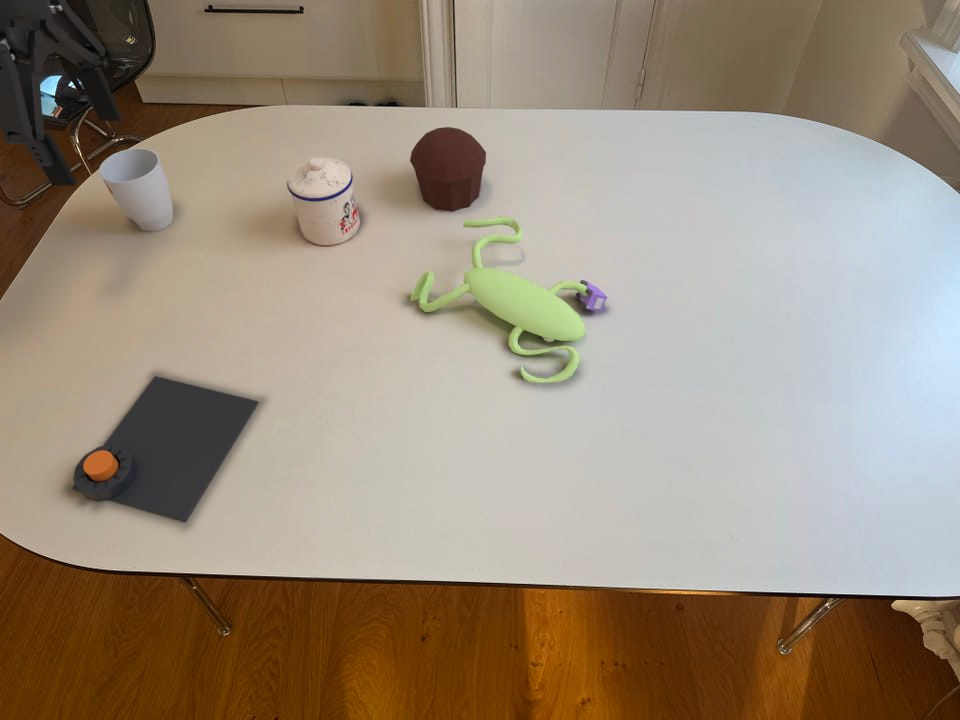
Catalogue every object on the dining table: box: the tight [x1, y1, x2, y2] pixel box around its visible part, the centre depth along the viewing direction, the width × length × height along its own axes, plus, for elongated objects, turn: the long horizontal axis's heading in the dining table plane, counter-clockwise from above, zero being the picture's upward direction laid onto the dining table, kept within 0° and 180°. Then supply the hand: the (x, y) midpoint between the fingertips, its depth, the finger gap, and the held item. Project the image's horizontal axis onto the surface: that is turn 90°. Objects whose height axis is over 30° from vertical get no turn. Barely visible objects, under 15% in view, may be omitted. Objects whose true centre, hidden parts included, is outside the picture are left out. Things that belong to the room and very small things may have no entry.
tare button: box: [83, 450, 118, 481], centre depth 75 cm, size 3×3×2 cm
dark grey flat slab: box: [71, 375, 260, 523], centre depth 79 cm, size 14×16×3 cm
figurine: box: [409, 215, 608, 384], centre depth 91 cm, size 18×27×6 cm
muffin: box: [409, 126, 487, 212], centre depth 105 cm, size 12×11×10 cm
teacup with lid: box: [286, 156, 361, 246], centre depth 101 cm, size 12×9×12 cm
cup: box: [98, 147, 174, 233], centre depth 103 cm, size 8×8×10 cm
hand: (89, 150), depth 87 cm, fingers open, 13 cm apart
